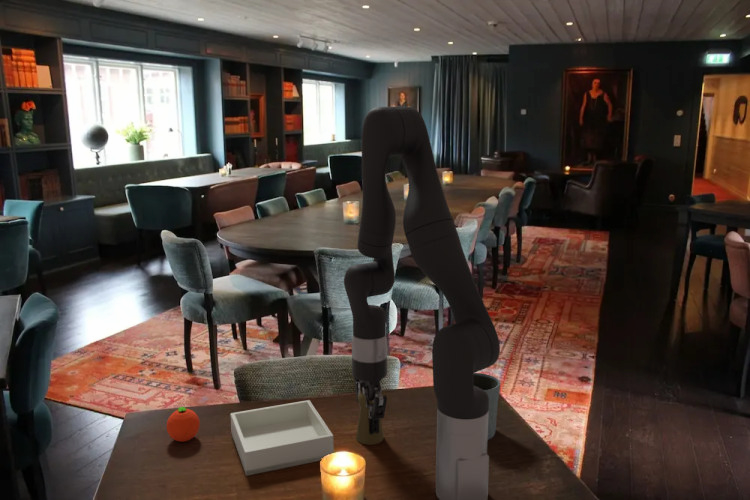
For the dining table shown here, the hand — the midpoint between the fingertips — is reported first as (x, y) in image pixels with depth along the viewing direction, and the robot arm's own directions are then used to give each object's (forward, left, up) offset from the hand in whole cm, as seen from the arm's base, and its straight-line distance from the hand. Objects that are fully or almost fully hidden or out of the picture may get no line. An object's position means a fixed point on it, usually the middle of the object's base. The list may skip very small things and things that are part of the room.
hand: (369, 428), depth 137 cm
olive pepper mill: (0, 0, -2) cm, 2 cm away
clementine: (+15, +38, -3) cm, 41 cm away
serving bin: (+4, +19, -2) cm, 20 cm away
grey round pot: (-6, -23, -3) cm, 24 cm away
